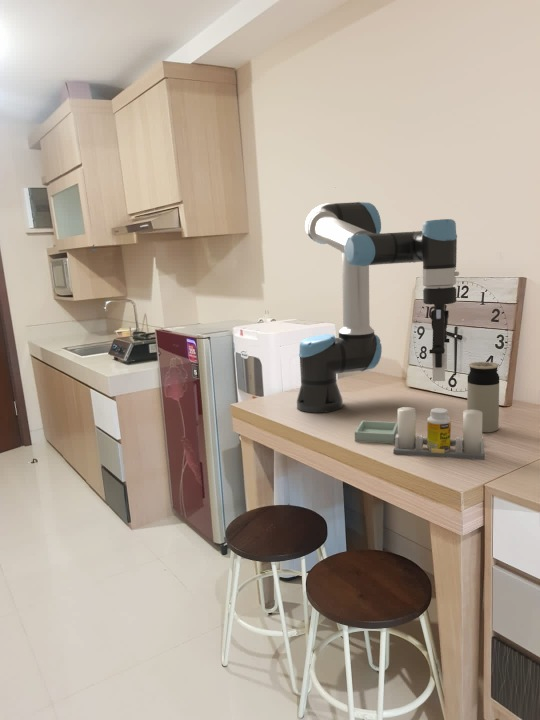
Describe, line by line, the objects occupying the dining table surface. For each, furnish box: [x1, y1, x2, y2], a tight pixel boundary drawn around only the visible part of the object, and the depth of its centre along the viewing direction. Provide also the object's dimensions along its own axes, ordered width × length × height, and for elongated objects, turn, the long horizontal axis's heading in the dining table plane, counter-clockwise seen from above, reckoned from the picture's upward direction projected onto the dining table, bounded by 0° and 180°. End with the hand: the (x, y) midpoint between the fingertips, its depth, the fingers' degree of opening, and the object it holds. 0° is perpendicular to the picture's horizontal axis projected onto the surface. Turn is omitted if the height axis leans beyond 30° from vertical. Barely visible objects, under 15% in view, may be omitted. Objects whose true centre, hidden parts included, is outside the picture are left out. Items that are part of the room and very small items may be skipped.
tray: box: [354, 420, 398, 444], centre depth 148 cm, size 10×10×2 cm
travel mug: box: [466, 361, 500, 434], centre depth 148 cm, size 8×8×18 cm
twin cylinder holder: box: [392, 406, 485, 461], centre depth 135 cm, size 21×10×10 cm, turn 70°
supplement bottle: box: [426, 407, 452, 452], centre depth 135 cm, size 6×6×10 cm
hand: (440, 374), depth 133 cm, fingers open, 13 cm apart
